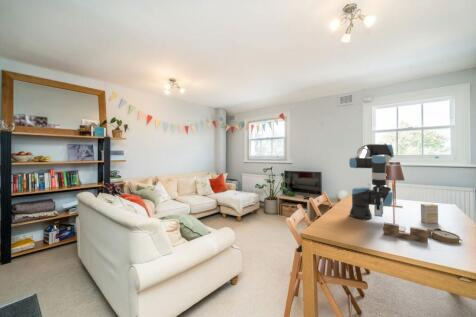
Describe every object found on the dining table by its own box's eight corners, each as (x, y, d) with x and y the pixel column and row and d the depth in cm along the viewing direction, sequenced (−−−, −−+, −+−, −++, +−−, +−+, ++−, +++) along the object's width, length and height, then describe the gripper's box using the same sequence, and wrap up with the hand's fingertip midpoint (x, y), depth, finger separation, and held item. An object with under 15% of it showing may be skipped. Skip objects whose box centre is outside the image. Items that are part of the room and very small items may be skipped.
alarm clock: (452, 240, 110) (421, 226, 124) (450, 248, 111) (419, 233, 125) (465, 237, 113) (433, 224, 128) (463, 245, 114) (431, 231, 128)
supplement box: (432, 221, 149) (432, 203, 148) (438, 223, 144) (438, 205, 144) (420, 221, 149) (420, 203, 149) (425, 223, 145) (425, 205, 144)
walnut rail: (383, 234, 126) (383, 223, 125) (383, 233, 128) (383, 222, 128) (427, 243, 113) (427, 230, 113) (427, 241, 115) (427, 229, 115)
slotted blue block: (382, 217, 129) (382, 201, 129) (374, 215, 132) (374, 200, 131) (383, 212, 137) (383, 198, 137) (376, 212, 139) (376, 197, 139)
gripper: (384, 181, 122) (384, 218, 123) (386, 177, 140) (387, 209, 141) (369, 180, 127) (370, 216, 128) (373, 176, 145) (374, 207, 145)
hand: (378, 212), depth 134 cm, fingers closed on slotted blue block, 10 cm apart
